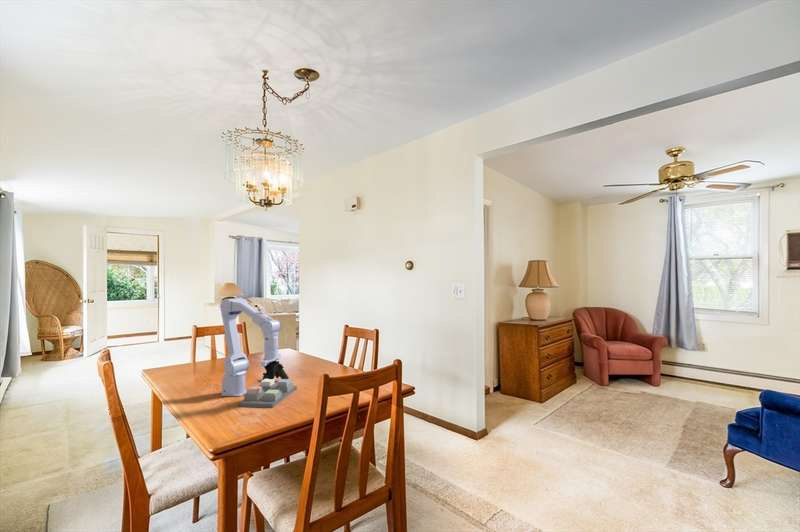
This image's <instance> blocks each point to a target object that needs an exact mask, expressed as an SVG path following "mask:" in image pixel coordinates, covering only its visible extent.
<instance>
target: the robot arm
mask: <svg viewBox="0 0 800 532" xmlns="http://www.w3.org/2000/svg"><path fill="white" fill-rule="evenodd" d="M219 307H220V313H221V317H222V323H223V329H224V330H223V331H224V335H225V340H226V345H227V351H228V355H227V356H226V357H225V359H224V360H223V361H224V366H223V367H224V368H223V370H224V373H225V375H224V376H223V377H222V380H221V394H220V396H221V397H241V396H243V395H244V394H246V393H247V389H246V373H247V371H248V370H249V368H250V361H249V360H248V358H247V354H245V353H244V352H242V349H241V343H240V337H239V332H238V326H237V320H236V319H237V317H238V316H239V315H241V314H242V313H243V314H245V315H246V316H248V317H249V318H251V321H252V322H253V323H254V324H255V325H256V326H258V327H259V328H261V332H262V333H263V334H262V335H263V338H264V343H263V344H264V351H263V352H264V353H263V354H264V355H263V356H264V357H263V359H262V360H261V361H260V367H263V368H264V369H265V371H266V372H267V376H268V379H275V378H276V376H275V373H276V369H277V367H278V365H279V364H280V361H279V360H281V358H282V354H281V353H279V332H280V331H281V329H282V323H281V322H280V320H279V319H277V318H275V319H273V318H272V317H271V316H269V315H267V314H266V313H265V311H263V310H262V311H257V310H256V309H255V308H254V307H252V306H251V305H250V304H249V303H248V300H247V299H245V298H244V297H238V298H236V297H235V298H224V299H223V300H222V301H221V303H220V304H219ZM266 372H265V373H266Z"/></svg>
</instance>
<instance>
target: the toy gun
mask: <svg viewBox="0 0 800 532" xmlns="http://www.w3.org/2000/svg"><path fill="white" fill-rule="evenodd" d="M262 375H263V376H262V380H264V379H268V376H267V372H263V373H262ZM275 378H276V379H278V378H280V380H281V379H289V376H288V374H287V373H286V371H285V369H284V365H283V364H282V363H279V365H278V367H277V369H276V373H275Z"/></svg>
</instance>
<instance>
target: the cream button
mask: <svg viewBox="0 0 800 532" xmlns="http://www.w3.org/2000/svg"><path fill="white" fill-rule="evenodd" d="M275 381H276V380H275V378H274V379H264V380H263V379H262V380H261V381H260V385H261V386H271V385H273V384H274V383H276V382H275Z"/></svg>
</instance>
